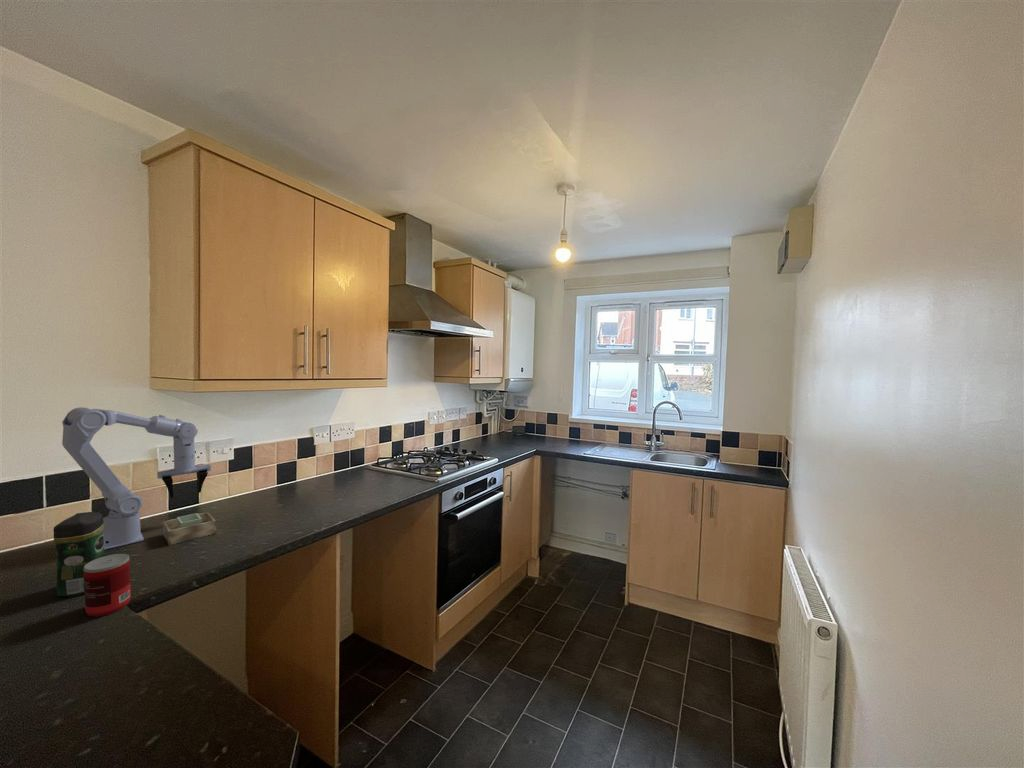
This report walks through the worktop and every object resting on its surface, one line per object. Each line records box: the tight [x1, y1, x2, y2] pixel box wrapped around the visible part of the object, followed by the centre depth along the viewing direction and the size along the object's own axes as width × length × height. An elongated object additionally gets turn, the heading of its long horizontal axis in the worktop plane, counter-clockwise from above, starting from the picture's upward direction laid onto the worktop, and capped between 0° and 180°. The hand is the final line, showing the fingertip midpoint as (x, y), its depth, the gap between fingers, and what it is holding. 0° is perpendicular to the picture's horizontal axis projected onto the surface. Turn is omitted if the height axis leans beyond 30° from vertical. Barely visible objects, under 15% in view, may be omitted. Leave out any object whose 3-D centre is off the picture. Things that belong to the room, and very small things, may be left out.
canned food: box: [83, 553, 132, 617], centre depth 96 cm, size 8×8×11 cm
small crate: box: [176, 512, 202, 529], centre depth 136 cm, size 5×7×5 cm
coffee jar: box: [53, 511, 106, 597], centre depth 103 cm, size 10×8×19 cm
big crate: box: [162, 511, 217, 546], centre depth 136 cm, size 12×11×4 cm
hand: (185, 494), depth 144 cm, fingers open, 7 cm apart
